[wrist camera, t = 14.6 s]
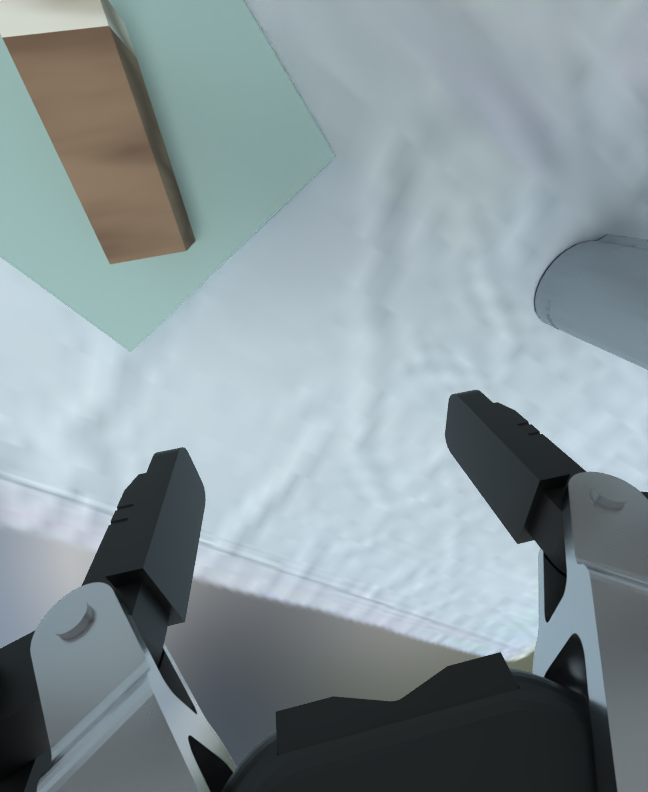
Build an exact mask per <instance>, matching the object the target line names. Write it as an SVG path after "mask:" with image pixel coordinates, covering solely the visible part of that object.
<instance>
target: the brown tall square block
mask: <svg viewBox="0 0 648 792" xmlns="http://www.w3.org/2000/svg"><path fill="white" fill-rule="evenodd" d="M0 34H1V36H2V38H3V41H4V43H5V45H6V47H7V49H8V51H9V53H10V55H11V57H12V59H13V62H14V64H15V66H16V68H17V70H18V72H19V74H20V76H21V78H22V80H23V83H24V85H25V87H26V89H27V91H28V93H29V95H30V97H31V99H32V102H33V104H34V106H35V108H36V110H37V112H38V114H39V116H40V118H41V120H42V123H43V125H44V127H45V129H46V131H47V133H48V135H49V137H50V139H51V141H52V144H53V146H54V148H55V150H56V152H57V154H58V156H59V158H60V160H61V163H62V165H63V167H64V169H65V171H66V173H67V175H68V177H69V179H70V181H71V184H72V186H73V188H74V190H75V192H76V194H77V196H78V198H79V200H80V202H81V205H82V207H83V209H84V211H85V213H86V215H87V217H88V219H89V221H90V223H91V226H92V228H93V230H94V232H95V234H96V236H97V238H98V240H99V242H100V245H101V247H102V249H103V251H104V253H105V255H106V257H107V259H108V261H109V263H110V264H116V263H121V262H127V261H133V260H138V259H144V258H150V257H155V256H161V255H167V254H172V253H178V252H184V251H187V250H188V249H189V248H190V247H191V246H192V244H193V243H194V242H195V241H196V240H195V237H194V234H193V231H192V228H191V225H190V222H189V219H188V216H187V212H186V209H185V206H184V203H183V200H182V197H181V194H180V191H179V188H178V185H177V182H176V178H175V175H174V172H173V169H172V166H171V163H170V160H169V157H168V154H167V151H166V148H165V144H164V141H163V138H162V135H161V132H160V129H159V126H158V123H157V120H156V117H155V114H154V110H153V107H152V104H151V101H150V98H149V95H148V92H147V89H146V86H145V83H144V80H143V76H142V73H141V70H140V67H139V64H138V61H137V58H136V55H135V52H134V49H133V45H132V42H131V39H130V36H129V33H128V30H127V27H126V24H125V22H124V21H123V20H122V18H121V17H120V16H119V14H118V13H117V12H116V10H115V9H114V7H113V6H112V5H111V3H110V2H109V1H108V0H0Z"/></svg>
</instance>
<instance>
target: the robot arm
mask: <svg viewBox="0 0 648 792" xmlns="http://www.w3.org/2000/svg"><path fill="white" fill-rule="evenodd" d="M535 308H536V313H537V315H538V317H539V318H540V319H541V320H542V321H543V322H544V323H547V324H549V325H551V326H553V327H554V328H556V329H558V330H562V331H564V332H566V333H568V334H570V335H572V336H574V337H577V338H579V339H581V340H583V341H585V342H588V343H590V344H592V345H594V346H596V347H599V348H601V349H603V350H605V351H607V352H610V353H612V354H614V355H616V356H619V357H621V358H623V359H625V360H627V361H630V362H632V363H634V364H636V365H638V366H641V367H643V368H645V369H647V370H648V240H645V239H637V238H630V237H622V236H614V235H605V236H604V237H603V238H601V239H599V240H597V241H586V242H583V243H579V244H577V245H575V246H573V247H571V248H569V249H568V250H567V251H565V252H564V253H563V254H561V255H560V256H559V257H558V258H557V259H556V260H555V261H554V262H553V263H552V264H551V266H550V267H549V268H548V269H547V271H546V272H545V274H544V276H543V277H542V279H541V281H540V284H539V286H538V289H537V292H536V297H535ZM539 432H540V431H538V430H537V429H536V428H535V427H534V426H533V425H531V424H530V425H529V423H528V421H527V420H526V419H524V418H523V417H522V416H521V415H520V414H519V413H517V412H516V411H515V410H513V409H511V408H509V407H506V406H504V405H502V404H500V403H498V402H497V403H493V402H492V401H490V400H489V399H488V398H487V397H486V396H485V395H484V394H483V393H482V392H480V391H479V390H472V391H467V392H462V393H457V394H452V395H451V396H450V398H449V403H448V412H447V421H446V430H445V438H446V443H447V446H448V448H449V451H450V452H451V454H452V455H453V457H454V458H455V459H456V461H457V462H458V463H459V465H460V466H461V467H462V469H463V470H464V472H465V473H466V474H467V476H468V477H469V478H470V480H471V481H472V483H473V484H474V485H475V487H476V488H477V489H478V491H479V492H480V493H481V495H482V496H483V498H484V499H485V500H486V502H487V503H488V504H489V506H490V507H491V509H492V510H493V511H494V513H495V514H496V515H497V517H498V518H499V519H500V521H501V522H502V524H503V525H504V526H505V528H506V529H507V530H508V532H509V533H510V535H511V536H512V537H513V539H514V540H515V541H516V543H517V544H520V543H524V542H528V541H532V540H535V541H536V543H537V544H538V545H539V547H540V548H541V549H540V551H539V555H538V582H539V629H538V637H537V642H536V646H535V652H534V660H533V674H532V673H529V672H525V671H521V670H516V669H511V668H508V666H507V664H506V662H505V660H504V658H503V656H502V654H501V652H500V653H496V654H492V655H488V656H484V657H481V658H477V659H473V660H469V661H466V662H462V663H458V664H455V665H451V666H447V667H446V668H444V669H443V670H442V671H440V672H439V673H437V674H436V675H434V676H433V677H432V678H430V679H429V680H427V681H426V682H424V683H423V684H422V685H420V686H419V687H418V688H416V689H415V690H413V691H412V692H410V693H409V694H408V695H406V696H405V697H403V698H402V699H400V700H397V701H390V702H389V701H378V700H366V699H356V698H344V697H330V698H326V699H322V700H319V701H315V702H311V703H307V704H303V705H300V706H296V707H292V708H288V709H285V710H281V711H277V712H276V730H274V731H273V732H271V733H270V734H268V735H267V736H266V737H265V738H264V739H263V740H262V741H260V742H259V743H258V744H257V745H256V746H255V747H254V748H253V749H252V750H251V751H250V752H249V754H248V755H247V756H246V757H245V758H244V759H243V760H242V761H241V763H240V764H239V766H238V767H236V766H235V764H234V762H233V760H232V758H231V757H230V755H229V753H228V751H227V750H226V748H225V746H224V745H223V743H222V741H221V740H220V738H219V737H218V735H217V734H216V733H215V731H214V730H213V728H212V727H211V726H210V724H209V723H208V721H207V720H206V719H205V717H204V715H203V713H202V712H201V710H200V708H199V706H198V704H197V702H196V701H195V699H194V697H193V695H192V693H191V691H190V690H189V688H188V686H187V684H186V682H185V681H184V679H183V677H182V675H181V673H180V671H179V670H178V668H177V666H176V664H175V662H174V660H173V658H172V657H171V655H170V653H169V651H168V649H167V647H166V646H165V645H164V641H165V635H166V631H167V626H170V625H174V624H178V623H183V622H185V618H186V612H187V606H188V601H189V595H190V589H191V583H192V578H193V572H194V566H195V560H196V554H197V549H198V543H199V537H200V531H201V525H202V520H203V514H204V508H205V490H204V486H203V483H202V481H201V479H200V476H199V474H198V472H197V470H196V468H195V466H194V464H193V462H192V460H191V457H190V455H189V453H188V451H187V450H186V449H185V448H183V447H182V448H177V449H172V450H167V451H162V452H157V453H155V454H154V456H153V458H152V460H151V463H150V465H149V468H148V470H147V473H144V474H139V475H138V476H137V477H136V478H135V479H134V480H133V481H132V483H131V484H130V485H129V486H128V487H127V488H126V489H125V491H124V493H123V495H122V497H121V499H120V502H119V504H118V506H117V511H115V513H114V515H113V517H112V520H111V525H109V526H108V528H107V531H106V533H105V535H104V537H103V540H102V542H101V544H100V546H99V548H98V551H97V553H96V555H95V557H94V560H93V562H92V564H91V566H90V569H89V571H88V573H87V575H86V577H85V580H84V582H83V584H82V586H81V587H79V588H77V589H75V590H73V591H71V592H70V593H68V594H67V595H66V596H64V597H63V598H62V599H61V600H59V601H58V602H57V603H56V604H55V605H54V606H53V607H52V608H51V609H50V610H49V611H48V612H47V614H46V615H45V616H44V618H43V619H42V620H41V622H40V623H39V625H38V627H37V629H36V630H35V631H33V632H32V633H30V634H28V635H26V636H24V637H22V638H20V639H18V640H16V641H14V642H12V643H10V644H8V645H7V646H5V647H3V648H1V649H0V792H648V492H640V491H639V490H638V489H636V488H635V487H634V486H632V485H631V484H629V483H627V482H625V481H624V480H621V479H619V478H617V477H614V476H611V475H608V474H604V473H599V472H586V471H585V470H584V469H583V468H581V467H580V466H579V465H578V464H577V463H576V462H574V461H573V460H572V459H571V458H570V457H569V456H567V455H566V454H565V453H564V452H563V451H562V450H560V449H559V448H558V447H557V446H556V445H555V444H554V443H552V442H551V441H550V440H549V439H548V438H547V437H545V436H544V435H543V434H540V433H539Z"/></svg>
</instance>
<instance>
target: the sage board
mask: <svg viewBox="0 0 648 792" xmlns="http://www.w3.org/2000/svg"><path fill="white" fill-rule="evenodd" d="M108 1H109V2H110V3H111V5H112V6H113V7H114V9H115V10H116V12H117V13H118V14H119V16H120V17H121V18H122V20H123V21H124V22H125V24H126V27H127V30H128V33H129V36H130V39H131V42H132V45H133V49H134V52H135V55H136V58H137V61H138V64H139V67H140V70H141V73H142V76H143V80H144V83H145V86H146V89H147V92H148V95H149V98H150V101H151V104H152V107H153V110H154V114H155V117H156V120H157V123H158V126H159V129H160V132H161V135H162V138H163V141H164V144H165V148H166V151H167V154H168V157H169V160H170V163H171V166H172V169H173V172H174V175H175V178H176V182H177V185H178V188H179V191H180V194H181V197H182V200H183V203H184V206H185V209H186V212H187V216H188V219H189V222H190V225H191V228H192V231H193V234H194V237H195V240H196V241H195V242H194V243H193V244H192V246H191V247H190V248H189V249H188V250H187V251H184V252H178V253H172V254H167V255H161V256H155V257H150V258H144V259H138V260H133V261H127V262H121V263H116V264H110V263H109V261H108V259H107V257H106V255H105V253H104V251H103V249H102V247H101V245H100V242H99V240H98V238H97V236H96V234H95V232H94V230H93V228H92V226H91V223H90V221H89V219H88V217H87V215H86V213H85V211H84V209H83V207H82V205H81V202H80V200H79V198H78V196H77V194H76V192H75V190H74V188H73V186H72V184H71V181H70V179H69V177H68V175H67V173H66V171H65V169H64V167H63V165H62V163H61V160H60V158H59V156H58V154H57V152H56V150H55V148H54V146H53V144H52V141H51V139H50V137H49V135H48V133H47V131H46V129H45V127H44V125H43V123H42V120H41V118H40V116H39V114H38V112H37V110H36V108H35V106H34V104H33V102H32V99H31V97H30V95H29V93H28V91H27V89H26V87H25V85H24V83H23V80H22V78H21V76H20V74H19V72H18V70H17V68H16V66H15V64H14V62H13V59H12V57H11V55H10V53H9V51H8V49H7V47H6V45H5V43H4V41H3V38H2V36H1V34H0V257H2V258H3V259H4V260H6V261H7V262H8V263H10V264H11V265H12V266H14V267H15V268H17V269H18V270H19V271H21V272H22V273H23V274H25V275H26V276H27V277H29V278H30V279H32V280H33V281H34V282H36V283H37V284H38V285H40V286H41V287H42V288H44V289H45V290H47V291H48V292H49V293H51V294H52V295H53V296H55V297H56V298H57V299H59V300H60V301H62V302H63V303H64V304H66V305H67V306H68V307H70V308H71V309H72V310H74V311H75V312H77V313H78V314H79V315H81V316H82V317H83V318H85V319H86V320H87V321H89V322H90V323H91V324H93V325H94V326H96V327H97V328H98V329H100V330H101V331H102V332H104V333H105V334H106V335H108V336H109V337H111V338H112V339H113V340H115V341H116V342H117V343H119V344H120V345H121V346H123V347H124V348H126V349H127V350H128V351H130V352H132V351H133V350H134V349H135V348H136V347H137V346H138V345H139V344H140V343H141V342H142V341H143V340H144V339H145V338H146V337H147V336H148V335H149V334H150V333H151V332H152V331H153V330H155V329H156V328H157V327H158V326H159V325H160V324H161V323H162V322H163V321H164V320H165V319H166V318H167V317H168V316H169V315H170V314H171V313H172V312H173V311H174V310H175V309H176V308H178V307H179V306H180V305H181V304H182V303H183V302H184V301H185V300H186V299H187V298H188V297H189V296H190V295H191V294H192V293H193V292H194V291H195V290H196V289H197V288H198V287H199V286H200V285H202V284H203V283H204V282H205V281H206V280H207V279H208V278H209V277H210V276H211V275H212V274H213V273H214V272H215V271H216V270H217V269H218V268H219V267H220V266H221V265H222V264H223V263H225V262H226V261H227V260H228V259H229V258H230V257H231V256H232V255H233V254H234V253H235V252H236V251H237V250H238V249H239V248H240V247H241V246H242V245H243V244H244V243H245V242H246V241H248V240H249V239H250V238H251V237H252V236H253V235H254V234H255V233H256V232H257V231H258V230H259V229H260V228H261V227H262V226H263V225H264V224H265V223H266V222H267V221H268V220H269V219H270V218H272V217H273V216H274V215H275V214H276V213H277V212H278V211H279V210H280V209H281V208H282V207H283V206H284V205H285V204H286V203H287V202H288V201H289V200H290V199H291V198H292V197H293V196H295V195H296V194H297V193H298V192H299V191H300V190H301V189H302V188H303V187H304V186H305V185H306V184H307V183H308V182H309V181H310V180H311V179H312V178H313V177H314V176H315V175H316V174H318V173H319V172H320V171H321V170H322V169H323V168H324V167H325V166H326V165H327V164H328V163H329V162H330V161H331V160H332V159H333V158H334V157H335V154H334V152H333V151H332V149H331V147H330V146H329V144H328V142H327V141H326V139H325V137H324V135H323V134H322V132H321V130H320V129H319V127H318V125H317V124H316V122H315V120H314V119H313V117H312V115H311V113H310V112H309V110H308V108H307V107H306V105H305V103H304V102H303V100H302V98H301V97H300V95H299V93H298V91H297V90H296V88H295V86H294V85H293V83H292V81H291V80H290V78H289V76H288V74H287V73H286V71H285V69H284V68H283V66H282V64H281V63H280V61H279V59H278V58H277V56H276V54H275V52H274V51H273V49H272V47H271V46H270V44H269V42H268V41H267V39H266V37H265V36H264V34H263V32H262V30H261V29H260V27H259V25H258V24H257V22H256V20H255V19H254V17H253V15H252V14H251V12H250V10H249V8H248V7H247V5H246V3H245V2H244V0H108Z"/></svg>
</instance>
